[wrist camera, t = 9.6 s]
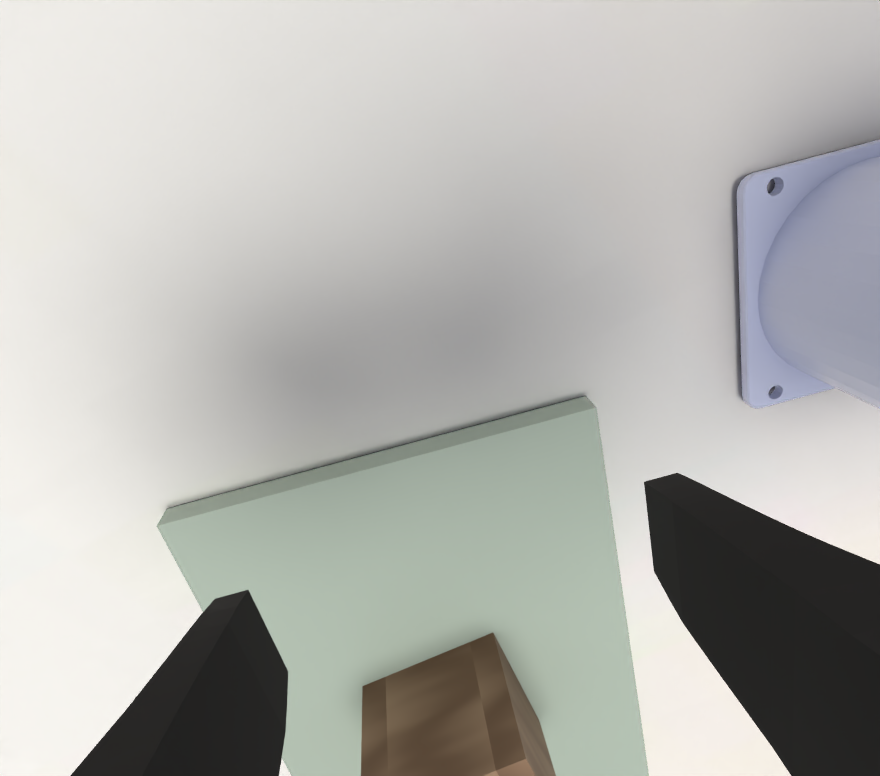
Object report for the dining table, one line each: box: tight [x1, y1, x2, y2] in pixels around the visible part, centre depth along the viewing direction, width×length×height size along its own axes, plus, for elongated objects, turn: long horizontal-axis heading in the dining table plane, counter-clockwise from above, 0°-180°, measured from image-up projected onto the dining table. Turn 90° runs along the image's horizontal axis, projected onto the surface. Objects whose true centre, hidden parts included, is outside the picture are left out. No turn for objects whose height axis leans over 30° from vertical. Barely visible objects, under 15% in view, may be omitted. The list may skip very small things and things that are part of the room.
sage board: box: [157, 396, 649, 776], centre depth 23 cm, size 15×20×1 cm
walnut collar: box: [361, 633, 556, 776], centre depth 21 cm, size 6×6×5 cm
